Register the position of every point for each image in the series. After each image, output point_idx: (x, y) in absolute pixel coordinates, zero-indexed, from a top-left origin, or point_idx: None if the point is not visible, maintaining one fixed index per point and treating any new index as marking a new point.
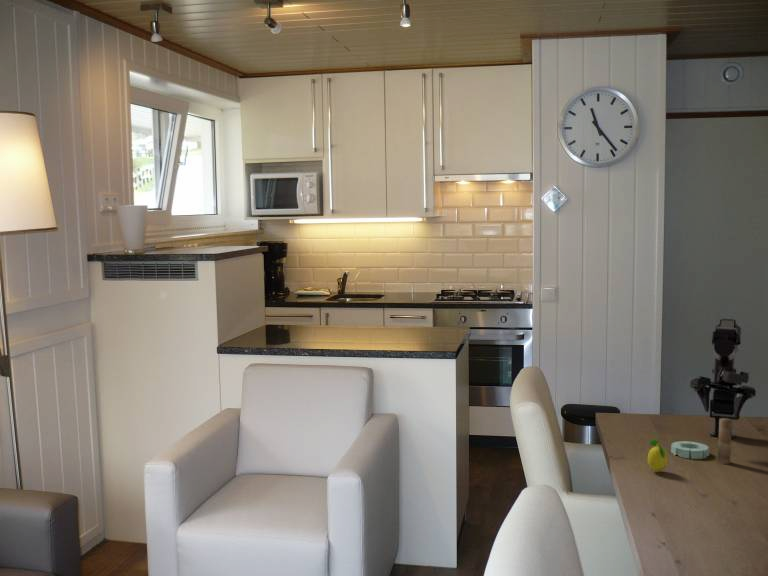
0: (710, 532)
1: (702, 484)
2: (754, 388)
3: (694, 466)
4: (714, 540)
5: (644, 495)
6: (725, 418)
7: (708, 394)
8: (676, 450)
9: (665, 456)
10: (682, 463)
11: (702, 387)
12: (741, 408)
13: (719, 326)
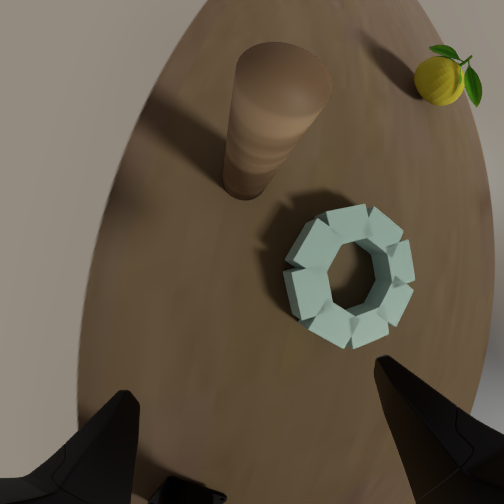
0: None
1: (331, 21)
2: None
3: (347, 130)
4: None
5: (409, 13)
6: (279, 102)
7: (472, 462)
8: (400, 240)
9: (430, 58)
10: (377, 159)
11: None
12: (69, 439)
13: None
